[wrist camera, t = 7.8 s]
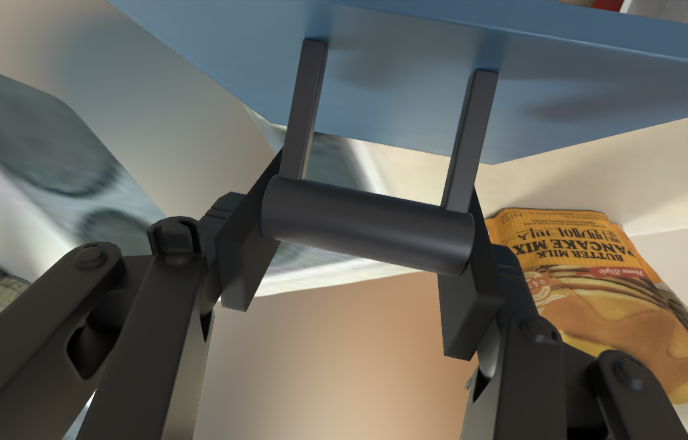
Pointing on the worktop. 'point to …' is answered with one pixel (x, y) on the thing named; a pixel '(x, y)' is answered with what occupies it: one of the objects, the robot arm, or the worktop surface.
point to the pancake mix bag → (599, 290)
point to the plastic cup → (648, 8)
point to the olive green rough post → (11, 290)
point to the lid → (422, 97)
